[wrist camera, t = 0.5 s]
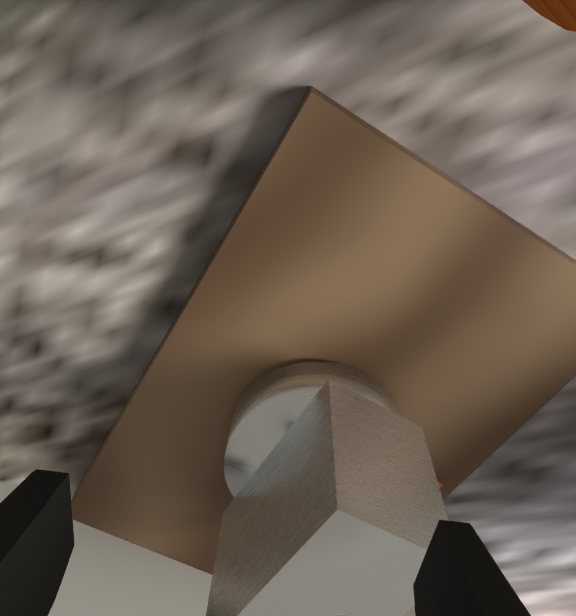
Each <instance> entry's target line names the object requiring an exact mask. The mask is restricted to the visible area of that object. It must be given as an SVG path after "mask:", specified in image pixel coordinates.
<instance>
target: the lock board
mask: <svg viewBox="0 0 576 616" xmlns="http://www.w3.org/2000/svg"><path fill="white" fill-rule="evenodd" d="M303 362H330V363H336V364H341V365H345V366H348V367H351V368H355V369H357V370H359V371H361V372H363V373H365V374H367V375H369V376H370V377H372V378H373V379H375V380H376V381H377V382H379V383H380V384H381V385H382V386H383V387H384V388H385V389H386V390H387V391H388V392H389V394H390V395H391V396H392V398H393V399H394V401H395V403H396V405H397V407H398V410H399V413H400V416H402V417H404V418H405V419H407V420H409V421H411V422H413V423H415V424H417V425H419V426H421V427H422V429H423V432H424V436H425V439H426V443H427V446H428V450H429V453H430V457H431V460H432V464H433V467H434V471H435V474H436V478H437V481H438V485H439V488H440V492H441V495H442V499H444V498H445V497H446V496H447V495H448V494H449V493H451V492H452V491H453V490H454V489H455V488H456V487H457V486H458V485H459V484H460V483H461V482H462V481H463V480H464V479H466V478H467V477H468V476H469V475H470V474H471V473H472V472H473V471H474V470H475V469H476V468H477V467H478V466H479V465H480V464H482V463H483V462H484V461H485V460H486V459H487V458H488V457H489V456H490V455H491V454H492V453H493V452H494V451H495V450H497V449H498V448H499V447H500V446H501V445H502V444H503V443H504V442H505V441H506V440H507V439H508V438H509V437H510V436H511V435H513V434H514V433H515V432H516V431H517V430H518V429H519V428H520V427H521V426H522V425H523V424H524V423H525V422H526V421H528V420H529V419H530V418H531V417H532V416H533V415H534V414H535V413H536V412H537V411H538V410H539V409H540V408H541V407H543V406H544V405H545V404H546V403H547V402H548V401H549V400H550V399H551V398H552V397H553V396H554V395H555V394H556V393H557V392H559V391H560V390H561V389H562V388H563V387H564V386H565V385H566V384H567V383H568V382H569V381H570V380H571V379H572V378H574V377H575V376H576V260H575V259H573V258H571V257H570V256H568V255H567V254H565V253H564V252H562V251H561V250H559V249H558V248H556V247H555V246H553V245H552V244H550V243H549V242H547V241H546V240H544V239H543V238H541V237H540V236H538V235H537V234H535V233H534V232H532V231H531V230H529V229H528V228H526V227H525V226H523V225H521V224H520V223H518V222H517V221H515V220H514V219H512V218H511V217H509V216H508V215H506V214H505V213H503V212H502V211H500V210H499V209H497V208H496V207H494V206H493V205H491V204H490V203H488V202H487V201H485V200H484V199H482V198H481V197H479V196H478V195H476V194H474V193H473V192H471V191H470V190H468V189H467V188H465V187H464V186H462V185H461V184H459V183H458V182H456V181H455V180H453V179H452V178H450V177H449V176H447V175H446V174H444V173H443V172H441V171H440V170H438V169H437V168H435V167H434V166H432V165H431V164H429V163H427V162H426V161H424V160H423V159H421V158H420V157H418V156H417V155H415V154H414V153H412V152H411V151H409V150H408V149H406V148H405V147H403V146H402V145H400V144H399V143H397V142H396V141H394V140H393V139H391V138H390V137H388V136H387V135H385V134H384V133H382V132H381V131H379V130H377V129H376V128H374V127H373V126H371V125H370V124H368V123H367V122H365V121H364V120H362V119H361V118H359V117H358V116H356V115H355V114H353V113H352V112H350V111H349V110H347V109H346V108H344V107H343V106H341V105H340V104H338V103H337V102H335V101H334V100H332V99H330V98H329V97H327V96H326V95H324V94H323V93H321V92H320V91H318V90H317V89H315V88H314V87H312V86H311V87H310V88H309V90H308V92H307V93H306V95H305V97H304V99H303V100H302V102H301V104H300V105H299V107H298V109H297V111H296V112H295V114H294V116H293V117H292V119H291V121H290V123H289V124H288V126H287V128H286V130H285V131H284V133H283V135H282V136H281V138H280V140H279V142H278V143H277V145H276V147H275V148H274V150H273V152H272V154H271V155H270V157H269V159H268V161H267V162H266V164H265V166H264V167H263V169H262V171H261V173H260V174H259V176H258V178H257V179H256V181H255V183H254V185H253V186H252V188H251V190H250V192H249V193H248V195H247V197H246V198H245V200H244V202H243V204H242V205H241V207H240V209H239V210H238V212H237V214H236V216H235V217H234V219H233V221H232V222H231V224H230V226H229V228H228V229H227V231H226V233H225V235H224V236H223V238H222V240H221V241H220V243H219V245H218V247H217V248H216V250H215V252H214V253H213V255H212V257H211V259H210V260H209V262H208V264H207V266H206V267H205V269H204V271H203V272H202V274H201V276H200V278H199V279H198V281H197V283H196V284H195V286H194V288H193V290H192V291H191V293H190V295H189V297H188V298H187V300H186V302H185V303H184V305H183V307H182V309H181V310H180V312H179V314H178V315H177V317H176V319H175V321H174V322H173V324H172V326H171V327H170V329H169V331H168V333H167V334H166V336H165V338H164V340H163V341H162V343H161V345H160V346H159V348H158V350H157V352H156V353H155V355H154V357H153V358H152V360H151V362H150V364H149V365H148V367H147V369H146V371H145V372H144V374H143V376H142V377H141V379H140V381H139V383H138V384H137V386H136V388H135V389H134V391H133V393H132V395H131V396H130V398H129V400H128V402H127V403H126V405H125V407H124V408H123V410H122V412H121V414H120V415H119V417H118V419H117V420H116V422H115V424H114V426H113V427H112V429H111V431H110V432H109V434H108V436H107V438H106V439H105V441H104V443H103V445H102V446H101V448H100V450H99V451H98V453H97V455H96V457H95V458H94V460H93V462H92V463H91V465H90V467H89V469H88V470H87V472H86V474H85V476H84V477H83V479H82V481H81V482H80V484H79V486H78V488H77V489H76V491H75V494H74V496H73V498H72V500H71V507H72V519H73V520H76V521H78V522H81V523H84V524H86V525H89V526H91V527H93V528H96V529H98V530H101V531H104V532H106V533H109V534H111V535H114V536H116V537H119V538H121V539H124V540H126V541H129V542H131V543H134V544H136V545H139V546H141V547H144V548H146V549H149V550H151V551H154V552H156V553H159V554H162V555H164V556H166V557H169V558H172V559H174V560H177V561H179V562H182V563H185V564H187V565H189V566H192V567H194V568H197V569H199V570H202V571H204V572H207V573H209V574H212V575H213V570H214V564H215V558H216V552H217V546H218V540H219V533H220V527H221V521H222V515H223V511H224V510H225V509H226V507H227V506H228V505H229V504H230V502H231V501H232V500H233V499H234V497H233V495H232V493H231V492H230V490H229V488H228V485H227V482H226V479H225V474H224V458H225V452H226V447H227V441H228V436H229V430H230V425H231V419H232V415H233V411H234V409H235V406H236V404H237V402H238V400H239V399H240V397H241V396H242V394H243V393H244V392H245V391H246V389H247V388H248V387H249V386H251V385H252V384H253V383H254V382H255V381H256V380H258V379H259V378H261V377H262V376H264V375H266V374H267V373H269V372H271V371H273V370H276V369H279V368H281V367H284V366H288V365H292V364H296V363H303Z"/></svg>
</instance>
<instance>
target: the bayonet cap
mask: <svg viewBox="0 0 576 616" xmlns="http://www.w3.org/2000/svg"><path fill="white" fill-rule="evenodd" d="M224 474H225V479H226V482H227V485H228V488H229V490H230V492H231V493H232V495H233V497H234V499H233V500H232V501H231V502H230V504H229V505H228V506H227V507H226V509H225V510H224V511H223V515H222V521H221V527H220V533H219V540H218V546H217V552H216V558H215V564H214V570H213V576H212V582H211V588H210V596H209V601H208V607H207V614H206V616H402V615H404V614H405V613H406V612H407V611H408V610H410V609H411V608H412V607H413V606H414V605H415V603H414V591H413V584H414V582H415V579H416V577H417V574H418V571H419V569H420V566H421V564H422V561H423V559H424V556H425V554H426V551H427V549H428V546H429V544H430V541H431V539H432V536H433V534H434V531H435V529H436V526H437V524H438V521H439V520H447V521H449V519H448V516H447V512H446V509H445V506H444V502H443V499H442V495H441V492H440V488H439V485H438V481H437V478H436V474H435V471H434V467H433V464H432V460H431V457H430V453H429V450H428V446H427V443H426V439H425V436H424V432H423V429H422V427H421V426H419V425H417V424H415V423H413V422H411V421H409V420H407V419H405V418H404V417H402V416H400V413H399V410H398V407H397V405H396V403H395V401H394V399H393V398H392V396H391V395H390V394H389V392H388V391H387V390H386V389H385V388H384V387H383V386H382V385H381V384H380V383H379V382H377V381H376V380H375V379H373V378H372V377H370V376H369V375H367V374H365V373H363V372H361V371H359V370H357V369H355V368H351V367H348V366H345V365H341V364H336V363H330V362H303V363H296V364H292V365H288V366H284V367H281V368H279V369H276V370H273V371H271V372H269V373H267V374H266V375H264V376H262V377H261V378H259V379H258V380H256V381H255V382H254V383H253V384H252V385H251V386H249V387H248V388H247V389H246V391H245V392H244V393H243V394H242V396H241V397H240V399H239V400H238V402H237V404H236V406H235V409H234V411H233V415H232V419H231V425H230V430H229V436H228V441H227V447H226V452H225V458H224Z"/></svg>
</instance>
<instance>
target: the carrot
mask: <svg viewBox="0 0 576 616" xmlns="http://www.w3.org/2000/svg"><path fill="white" fill-rule="evenodd" d="M523 1H524V2H525V3H526V4H528V5H529V6H530V7H531V8H533V9H534V10H535V11H536V12H538V13H539V14H540V15H542V16H543V17H545V18H547V19H548V20H550V21H552V22H553V23H555V24H557V25H558V26H560V27H562V28H564V29H565V30H570V31H575V32H576V0H523Z"/></svg>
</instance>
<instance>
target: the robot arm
mask: <svg viewBox="0 0 576 616" xmlns="http://www.w3.org/2000/svg"><path fill="white" fill-rule="evenodd" d="M73 547H74V533H73V520H72V507H71V494H70V481H69V473H62V472H54V471H46V470H38V469H37V470H35V471H34V472H32V473H31V474H30V475H29V476H28V477H27V478H26V479H25V480H24V481H23V482H22V483H21V484H20V485H19V486H18V487H17V488H16V489H14V491H12V493H10V494H9V495H8V496H7V497H6V498H5V499H4V500H3V501H2V502H1V503H0V616H47V615H48V614H49V611H50V609H51V607H52V605H53V603H54V601H55V598H56V595H57V592H58V590H59V587H60V584H61V582H62V579H63V576H64V573H65V570H66V567H67V564H68V562H69V558H70V556H71V553H72V550H73ZM413 591H414V603H415V614H416V616H531V615H530V614H529V612H528V611H527V609H526V608H525V606H524V605H523V603H522V602H521V600H520V599H519V597H518V596H517V594H516V593H515V591H514V590H513V588H512V587H511V585H510V584H509V582H508V581H507V579H506V578H505V576H504V575H503V573H502V572H501V570H500V569H499V567H498V566H497V564H496V562H495V561H494V559H493V558H492V556H491V555H490V553H489V552H488V550H487V549H486V547H485V545H484V544H483V542H482V541H481V539H480V538H479V536H478V535H477V533H476V532H475V530H474V529H473V527H472V526H471V524H470V523H463V522H455V521H447V520H439V521H438V524H437V526H436V529H435V531H434V534H433V536H432V539H431V541H430V544H429V546H428V549H427V551H426V554H425V556H424V559H423V561H422V564H421V566H420V569H419V571H418V574H417V577H416V579H415V582H414V584H413Z"/></svg>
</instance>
